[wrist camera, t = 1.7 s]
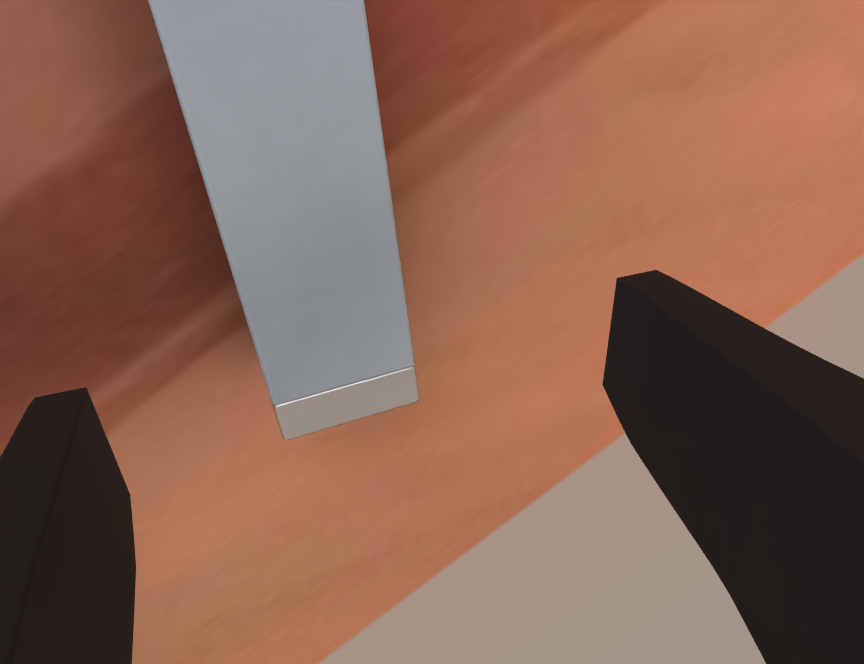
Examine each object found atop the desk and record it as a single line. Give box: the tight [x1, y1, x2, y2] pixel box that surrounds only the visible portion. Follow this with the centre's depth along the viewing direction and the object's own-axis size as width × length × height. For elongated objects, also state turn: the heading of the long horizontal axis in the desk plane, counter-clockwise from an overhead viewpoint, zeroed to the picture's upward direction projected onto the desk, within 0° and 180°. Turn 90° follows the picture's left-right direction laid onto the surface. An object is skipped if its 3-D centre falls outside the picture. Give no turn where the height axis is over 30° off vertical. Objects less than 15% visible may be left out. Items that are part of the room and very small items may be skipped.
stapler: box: [148, 0, 419, 440], centre depth 17 cm, size 14×4×4 cm, turn 5°
